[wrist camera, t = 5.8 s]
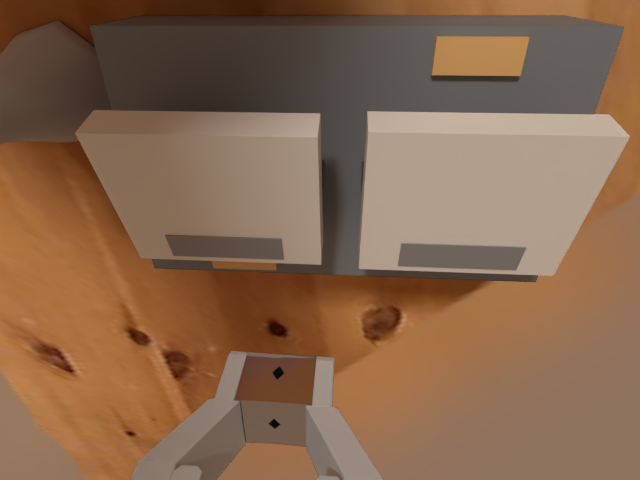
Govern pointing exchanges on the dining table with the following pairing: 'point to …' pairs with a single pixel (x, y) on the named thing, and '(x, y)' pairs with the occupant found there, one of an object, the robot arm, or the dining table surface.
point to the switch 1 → (212, 182)
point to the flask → (48, 85)
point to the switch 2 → (480, 189)
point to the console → (352, 87)
